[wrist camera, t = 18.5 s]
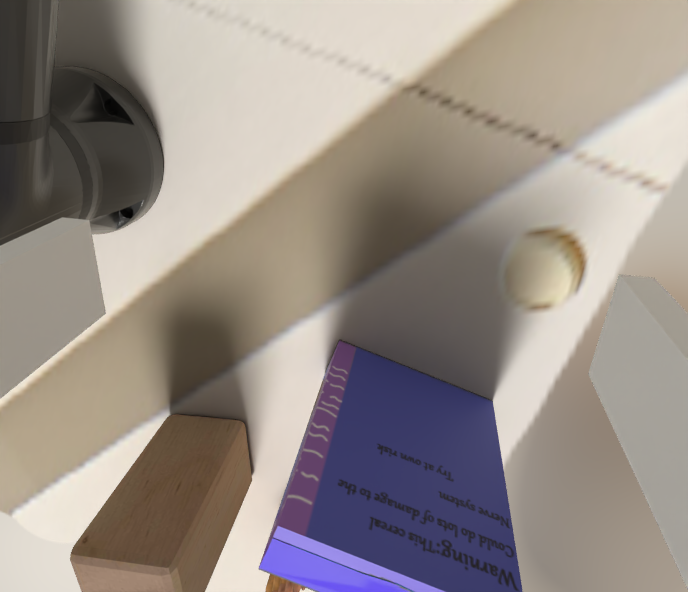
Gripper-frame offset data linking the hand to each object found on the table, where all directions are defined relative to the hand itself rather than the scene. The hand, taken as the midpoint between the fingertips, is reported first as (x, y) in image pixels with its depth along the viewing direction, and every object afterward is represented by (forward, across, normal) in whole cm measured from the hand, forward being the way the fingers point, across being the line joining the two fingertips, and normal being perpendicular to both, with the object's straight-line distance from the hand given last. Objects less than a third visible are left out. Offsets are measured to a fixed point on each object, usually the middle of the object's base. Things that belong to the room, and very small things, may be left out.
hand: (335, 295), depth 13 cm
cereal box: (+35, +3, -27) cm, 44 cm away
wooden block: (+35, -20, -40) cm, 57 cm away
